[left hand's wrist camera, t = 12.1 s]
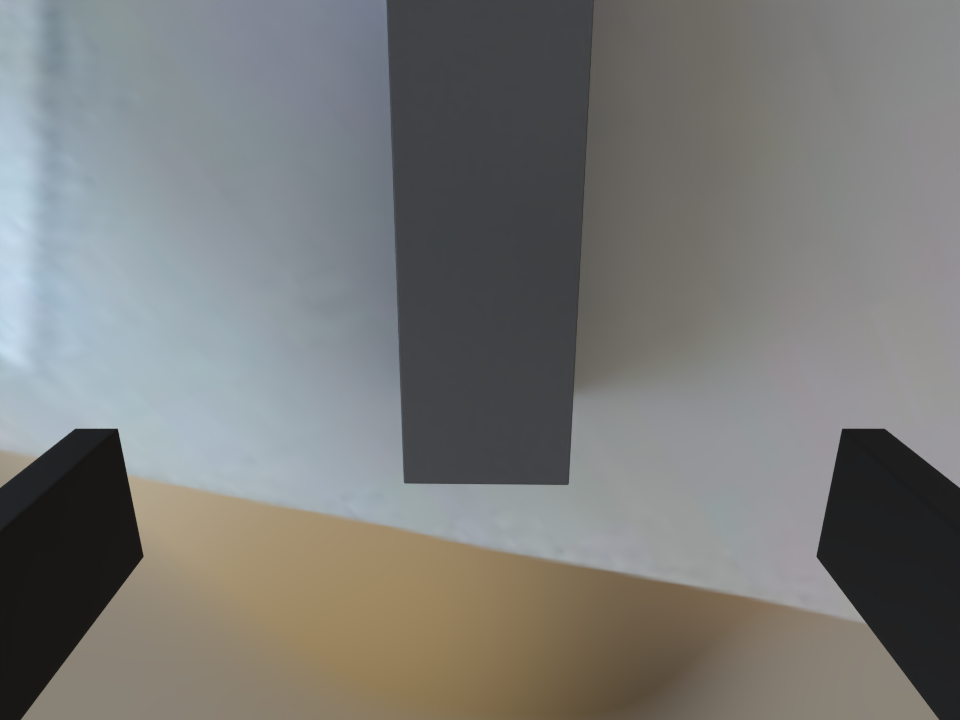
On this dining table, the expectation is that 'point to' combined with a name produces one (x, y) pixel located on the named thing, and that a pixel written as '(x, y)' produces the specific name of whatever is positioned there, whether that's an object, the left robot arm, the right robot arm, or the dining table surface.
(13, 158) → the dining table surface
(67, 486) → the left robot arm
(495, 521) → the dining table surface
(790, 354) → the dining table surface
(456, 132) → the beam
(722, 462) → the dining table surface
